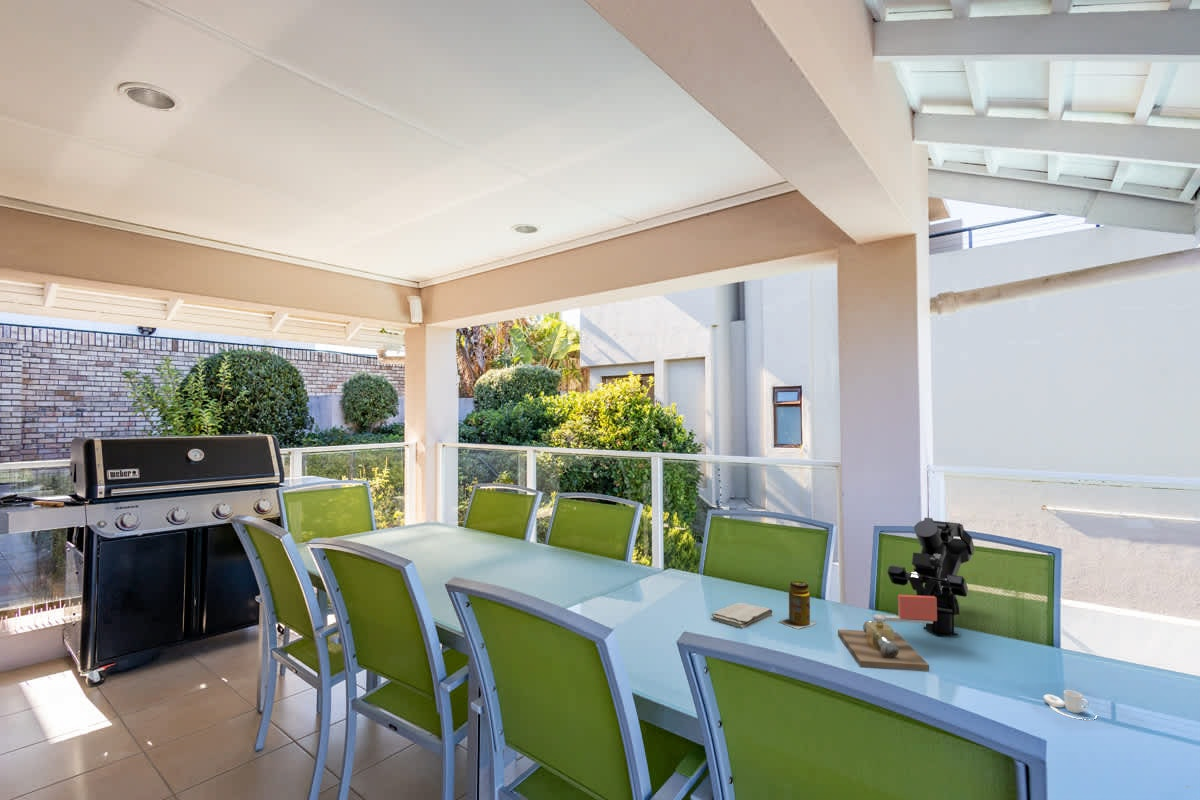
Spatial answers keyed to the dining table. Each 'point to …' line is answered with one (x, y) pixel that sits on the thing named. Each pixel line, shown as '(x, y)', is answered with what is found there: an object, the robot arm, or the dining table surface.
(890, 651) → the ball valve
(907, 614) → the valve lever
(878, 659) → the mounting board
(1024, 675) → the dining table surface
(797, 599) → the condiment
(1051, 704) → the teacup and saucer
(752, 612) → the washcloth
